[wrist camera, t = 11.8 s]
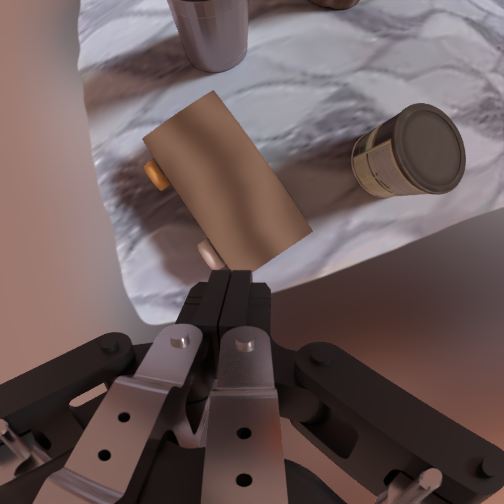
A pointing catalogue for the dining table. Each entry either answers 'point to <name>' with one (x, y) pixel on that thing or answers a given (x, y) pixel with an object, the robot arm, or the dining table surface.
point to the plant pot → (336, 3)
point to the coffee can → (410, 154)
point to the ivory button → (211, 255)
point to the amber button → (156, 174)
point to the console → (226, 184)
